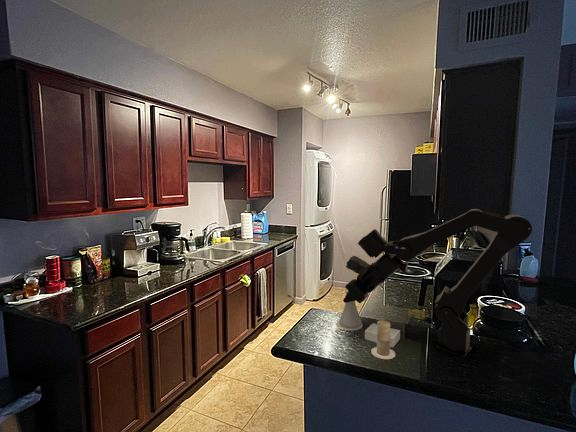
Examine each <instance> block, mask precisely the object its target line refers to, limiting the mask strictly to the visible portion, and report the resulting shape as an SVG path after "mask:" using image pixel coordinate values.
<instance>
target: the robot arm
mask: <svg viewBox="0 0 576 432" xmlns="http://www.w3.org/2000/svg"><path fill="white" fill-rule="evenodd" d="M473 227H479V228H482V229H485V230H489V231H493V232H494V233H493V235H492V238H491V240H490V242H489V244H488V245H487V246H486V247H485V248H484V250H483V252H482V253H481V254H480V255H479V256H478V258H477V259H476V260H475V261H474V262H473V264H472V265H471V266H470V267H469V268H468V270H467V271H466V272H465V273H464V275H463V276H462V277H461V279H459V281H458V282H457V284H456V285H454V286H452V287H451V288H449V287H448V286H447V285H445V286H444V288H443V289H442V291H441V292H440V293H439V294H438V295H437V296H436V299H435V301H434V305H435V307H434V315H435V317H436V318H437V320H438V321H440V322H441V324H440V327H439V328H438V337H437V338H438V341H437V342H438V345H437V349H439V350H442V351H444V352H448V353H449V354H452V355H455V356H457V357H461V358H465V357H466V356H467V355H468V353H469V352H470V351H471V350H472V348H473V347H472V346H470V345H471V343H470V342H471V340H470V339H471V328H470V327H469V320H470V319H469V318H470V317H469V314H468V313H467V312H466V311H465V307H466V304H467V302H468V300H469V298H470V297H471V296H472V294H473V293H474V292H475V291H476V289H478V287H479V286H480V285H481V284H482V282H483V281H484V280H485V279H486V278H487V277H488V276H489V274H490V273H491V271H492V270H493V269H494V268H495V267H496V266H497V265H498V264H499V263H500V262H501V260H502V259H503V258H504V256H505V255H506V254H508V253H510V251H511V252H512V250H514V249H515V248H517V247H518V246H520V245H521V244H522V243H523V242H524V241H526V240H527V239H528V238H529V237H530V236H531V234H532V232H533V227H532V224H531V222H530V221H529V220H527V219H526V218H525V217H523V216H522V215H518V214H507V215H501V214H498V213H492V212H488V211H483V210H481V209H478V208H472V209H469V210H468V211H467V212H465V213H462V214H461V215H458V216H457V217H455V218H452V219H450V220H447V221H446V222H444V223H442V224H440V225H438V226H435V227H434V228H431V229H429V230H426V231H424V232H420V233H416V234H413V235H409V236H405V237H403V238H401V239H400V240H394V241H393V240H391V241H387V240H386V239H385V238H384V237H383V236H382V235H381V234H380V233H379V231H378V230H377V229H376V228H375V229H373V230H371V231H370V232H369V233H367V234H366V235H365V236H363V237H362V238H361V239H360V240H358V242H357V245H358V246H359V247H360V248H361V249H362V250H363V252H364V253H365V254H366V255H368V257H369V258H372V259H373V258H375V259H376V258H378V257H379V256H380V257H379V258H378V259H376V261H374V262H372V263H371V264H370V263H368V262H367V261H365V259H364V260H363V259H362V258H360V257H359V256H356V255H353V256H350V257H349V260H348V261H346V265H345V268H346V269H347V270H350V271H352V272H354V273H355V274H357V277H356V279H351V280H350V281H349V282H347V284H345V287H344V288H345V290H347V291H349V292H348V293H347V295H346V294H345V297H344V298H343V299H342V301H343V302H344V304H345V303H347V302H352V301H355V302H356V301H357V302H356V303H358V304H361V303H363V302H364V301H366V299H367V298H368V297H369V294H370V293H371V292H374V291H375V289H377V288H378V287H379V286H380V285H381V284H383V283H384V282H385V281H387V280H388V278H390V277H391V276H392V275H394V274H395V273H396V272H398V270H400V271H401V272H402V273H403V274H406V273H407V272H408V270H409V267H408V266H409V262H408V261H411V260H412V259H414V258H415V257H417V256H419V254H421V253H423V252H424V251H426V250H427V249H428V248H430V247H431V246H433V245H435V244H438V243H440V242H442V241H444V240H446V239H449V238H452V237H453V236H456V235H458V234H459V233H462V232H464V231H466V230H468V229H471V228H473ZM382 253H383V255H381V254H382Z"/></svg>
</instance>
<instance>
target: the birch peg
mask: <svg viewBox="0 0 576 432" xmlns="http://www.w3.org/2000/svg"><path fill="white" fill-rule="evenodd" d="M376 324H377V343H376V347H377V353H378V354H379V355H382V356H388V355H389V354H390V349H391V347H390V328H391V322H390V321H387V320H382V319H381V320H377V323H376Z"/></svg>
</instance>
